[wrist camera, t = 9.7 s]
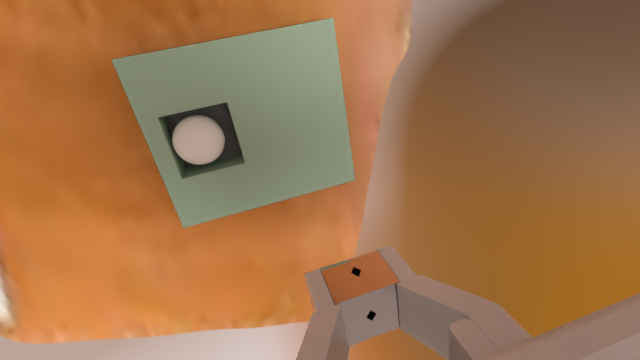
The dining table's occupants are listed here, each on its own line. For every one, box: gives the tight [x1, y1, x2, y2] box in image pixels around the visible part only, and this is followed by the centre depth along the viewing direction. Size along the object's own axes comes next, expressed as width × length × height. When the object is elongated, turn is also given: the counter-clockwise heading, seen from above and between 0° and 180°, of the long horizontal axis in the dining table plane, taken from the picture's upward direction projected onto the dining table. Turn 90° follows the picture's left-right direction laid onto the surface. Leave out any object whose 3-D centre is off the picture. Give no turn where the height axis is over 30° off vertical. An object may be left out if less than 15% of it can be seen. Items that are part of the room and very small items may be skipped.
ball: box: [172, 115, 225, 165], centre depth 26 cm, size 4×4×4 cm
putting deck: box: [112, 18, 355, 228], centre depth 28 cm, size 14×16×3 cm
